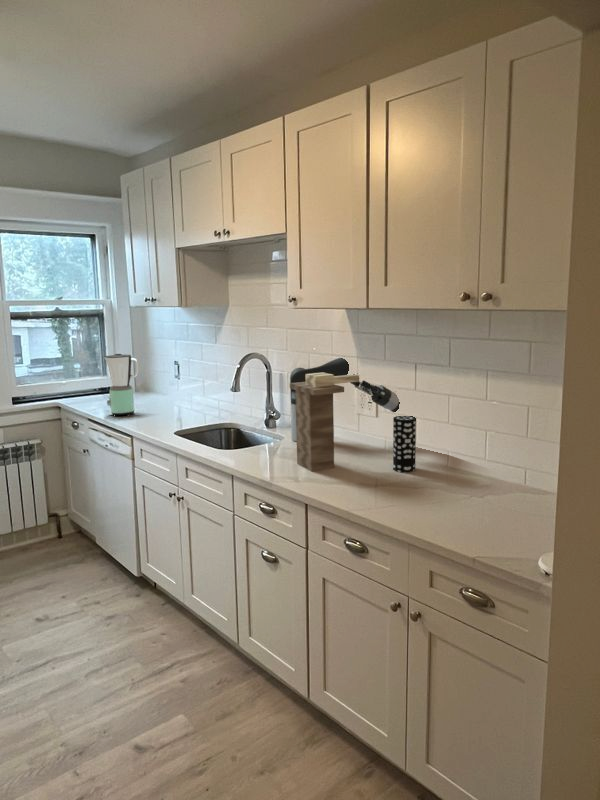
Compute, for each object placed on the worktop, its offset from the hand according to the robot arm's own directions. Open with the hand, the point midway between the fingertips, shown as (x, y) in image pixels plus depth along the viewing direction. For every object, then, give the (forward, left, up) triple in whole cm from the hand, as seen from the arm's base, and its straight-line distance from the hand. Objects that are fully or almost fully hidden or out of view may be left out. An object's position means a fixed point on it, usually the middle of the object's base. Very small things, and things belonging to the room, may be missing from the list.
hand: (356, 381), depth 238 cm
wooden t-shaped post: (0, -18, -32) cm, 37 cm away
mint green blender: (-149, -64, -32) cm, 165 cm away
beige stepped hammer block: (0, -10, 0) cm, 10 cm away
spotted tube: (+22, +7, -32) cm, 40 cm away
